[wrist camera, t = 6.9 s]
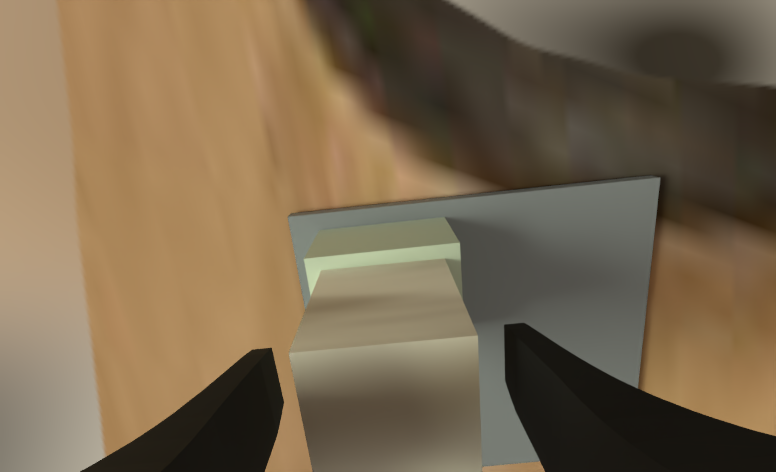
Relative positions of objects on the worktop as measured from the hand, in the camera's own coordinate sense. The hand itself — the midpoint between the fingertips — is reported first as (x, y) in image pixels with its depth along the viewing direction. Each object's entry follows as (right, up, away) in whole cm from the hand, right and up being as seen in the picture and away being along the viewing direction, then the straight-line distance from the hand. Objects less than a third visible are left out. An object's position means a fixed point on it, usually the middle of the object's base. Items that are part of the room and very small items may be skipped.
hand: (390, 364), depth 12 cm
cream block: (0, +1, +2) cm, 3 cm away
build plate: (+4, -1, +7) cm, 9 cm away
